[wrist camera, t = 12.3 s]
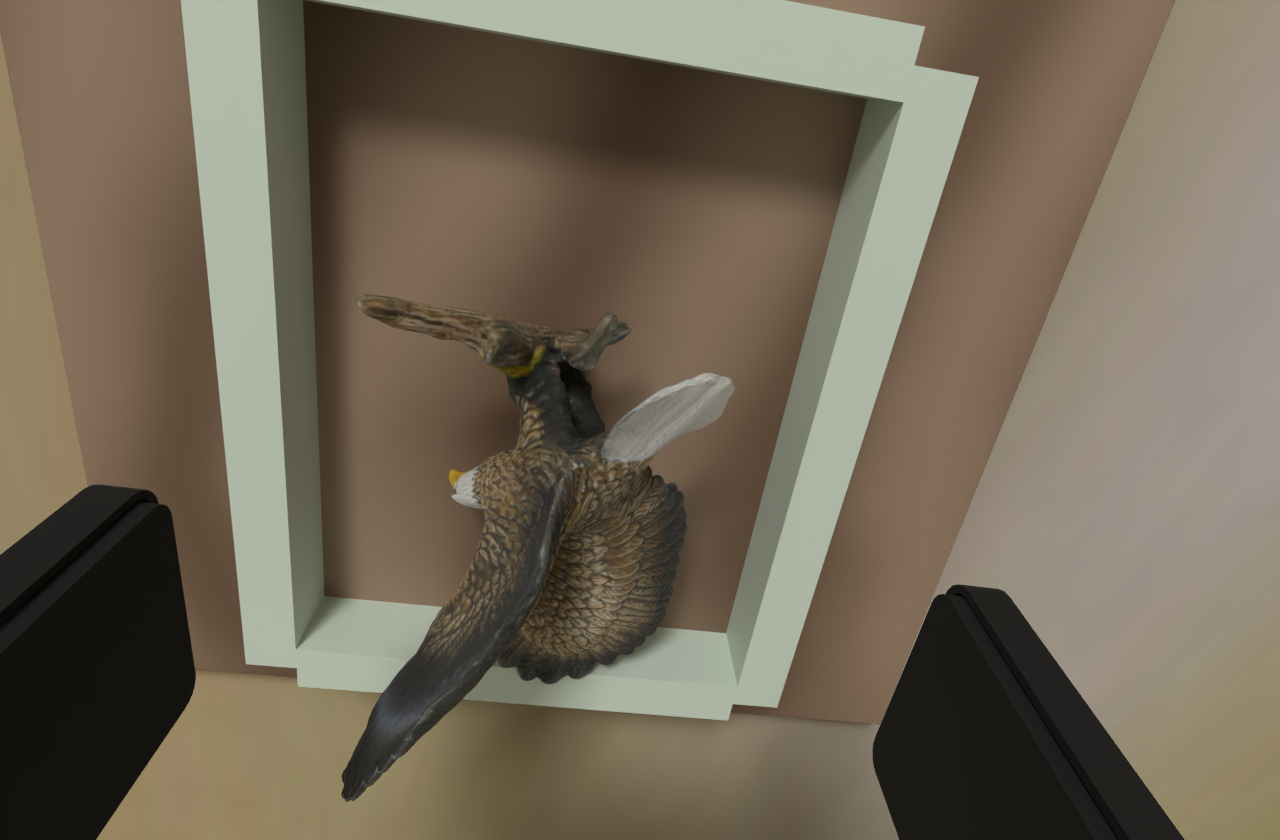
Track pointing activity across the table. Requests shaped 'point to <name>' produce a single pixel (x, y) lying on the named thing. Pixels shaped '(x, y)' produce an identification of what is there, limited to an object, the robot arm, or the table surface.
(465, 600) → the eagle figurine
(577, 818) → the table surface
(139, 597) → the robot arm
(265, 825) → the table surface
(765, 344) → the jig board
